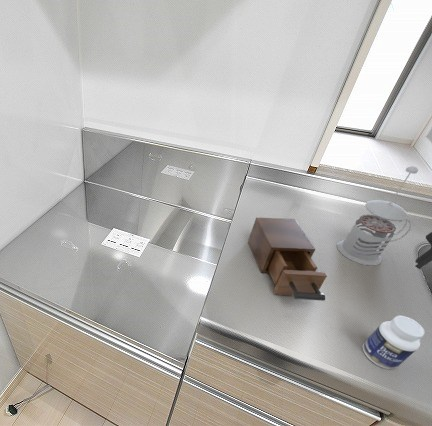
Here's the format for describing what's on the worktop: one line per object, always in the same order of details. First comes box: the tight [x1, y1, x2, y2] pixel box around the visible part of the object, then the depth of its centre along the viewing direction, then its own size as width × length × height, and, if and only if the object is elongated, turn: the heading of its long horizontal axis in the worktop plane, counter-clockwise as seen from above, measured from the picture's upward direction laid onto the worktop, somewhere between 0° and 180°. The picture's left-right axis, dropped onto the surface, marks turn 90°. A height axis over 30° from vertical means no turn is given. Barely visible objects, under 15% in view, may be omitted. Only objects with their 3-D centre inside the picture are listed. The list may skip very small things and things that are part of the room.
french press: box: [336, 165, 419, 266], centre depth 70 cm, size 10×12×25 cm
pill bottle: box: [362, 315, 426, 370], centre depth 52 cm, size 5×5×10 cm
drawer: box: [267, 250, 328, 302], centre depth 66 cm, size 15×8×7 cm, turn 175°
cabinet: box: [247, 217, 316, 275], centre depth 74 cm, size 12×10×9 cm
